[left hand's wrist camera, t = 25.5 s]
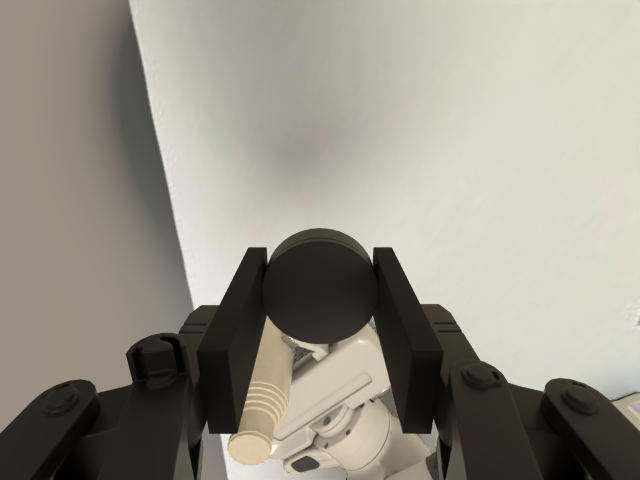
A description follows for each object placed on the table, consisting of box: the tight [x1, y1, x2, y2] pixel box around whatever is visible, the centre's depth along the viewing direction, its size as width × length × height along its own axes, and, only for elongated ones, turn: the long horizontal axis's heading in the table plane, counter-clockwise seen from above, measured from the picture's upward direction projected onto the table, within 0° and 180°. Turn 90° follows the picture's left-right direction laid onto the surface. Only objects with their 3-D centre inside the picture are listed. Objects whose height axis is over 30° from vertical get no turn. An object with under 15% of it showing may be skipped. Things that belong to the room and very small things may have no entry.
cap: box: [262, 228, 378, 344], centre depth 14 cm, size 5×5×2 cm
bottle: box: [228, 316, 295, 465], centre depth 36 cm, size 6×6×18 cm
